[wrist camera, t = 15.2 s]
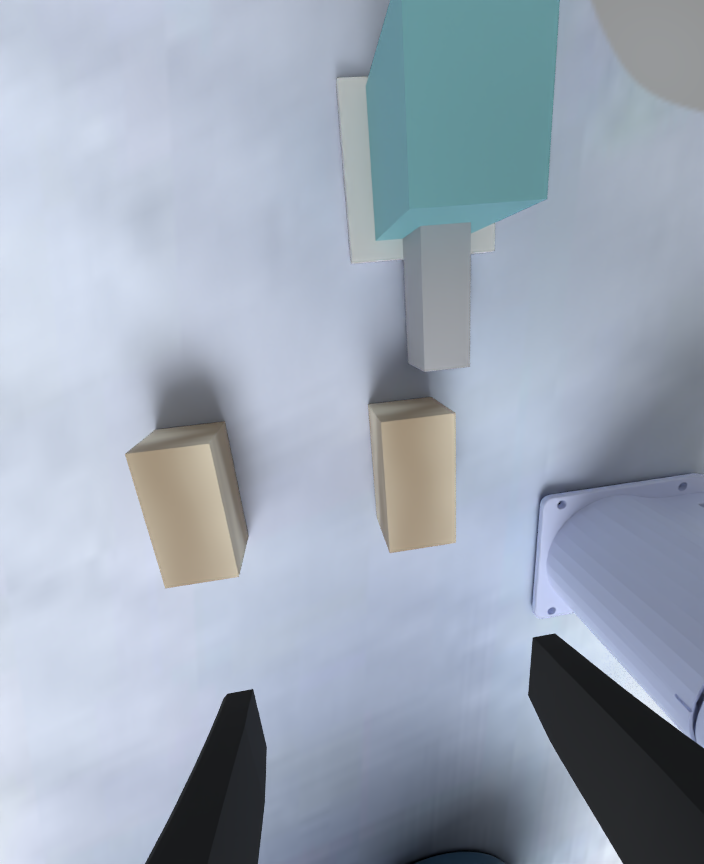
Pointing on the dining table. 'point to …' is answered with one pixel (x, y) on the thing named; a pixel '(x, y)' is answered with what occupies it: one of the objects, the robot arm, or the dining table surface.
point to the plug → (456, 146)
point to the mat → (360, 181)
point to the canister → (462, 859)
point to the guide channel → (221, 504)
